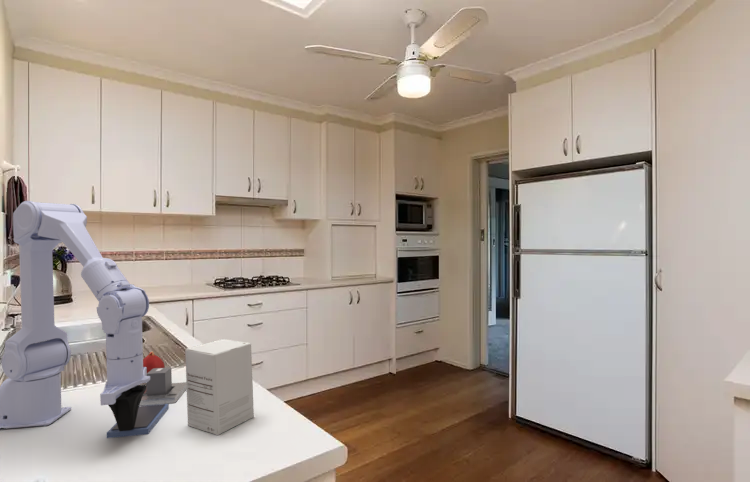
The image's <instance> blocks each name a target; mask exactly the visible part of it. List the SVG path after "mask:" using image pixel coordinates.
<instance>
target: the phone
mask: <svg viewBox="0 0 750 482" xmlns="http://www.w3.org/2000/svg"><path fill="white" fill-rule="evenodd" d="M169 408H170V403H168V404H155V405H143V406H139V408H138V413H137V418H136V422H135V426H134V428H133V429H132V430H130V431H119V429H118V426H117V423H116V422H115V424H114V425H113V426H112V427H110V429H109V430H107V431H106V439H111V438H119V437H120V438H122V437H131V436H141V435H142V436H143V435H149V434H150V433H151V432H152V430H153V429H154V428H155V426H156V425H157V424H158V423H159V422H160V420H161V418H163V416H164V415H165V414H166V412H167V411H168V410H169Z"/></svg>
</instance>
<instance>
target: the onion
mask: <svg viewBox="0 0 750 482" xmlns="http://www.w3.org/2000/svg"><path fill="white" fill-rule="evenodd" d="M143 367H147V373H148V372H149V371H151V370H152V369H153V368H166V367H165V363H164V361H163V359H162V358H161V357H159V355H156V354H155V353H154V351H150V352H149V354H148V355H146V356H145V357H143Z"/></svg>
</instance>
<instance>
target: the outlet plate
mask: <svg viewBox="0 0 750 482" xmlns="http://www.w3.org/2000/svg"><path fill="white" fill-rule="evenodd" d="M185 391H187V384H186V381H183V382H172V390H171V391H170V392H169V393H168V394H167V395H154V396H147V385H146V390H145V392H144V394H143V396H142V399H141V402H140V405H139V406H148V405H160V404H176V403H177V401H178V400H179V399H180V398H181V397H182V395H183V394H184V393H185Z"/></svg>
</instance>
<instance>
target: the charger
mask: <svg viewBox="0 0 750 482" xmlns="http://www.w3.org/2000/svg"><path fill="white" fill-rule="evenodd" d="M172 375H173V374H172V367H165V368H153V369H152V370H151V371H149V372H148V373H147V376H150V380H149V381H148V382H147V383H145V384H146V385H147V396H154V395H167V394H168V393H169V392H170V391H171V390H172V383H173V380H172Z"/></svg>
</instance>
